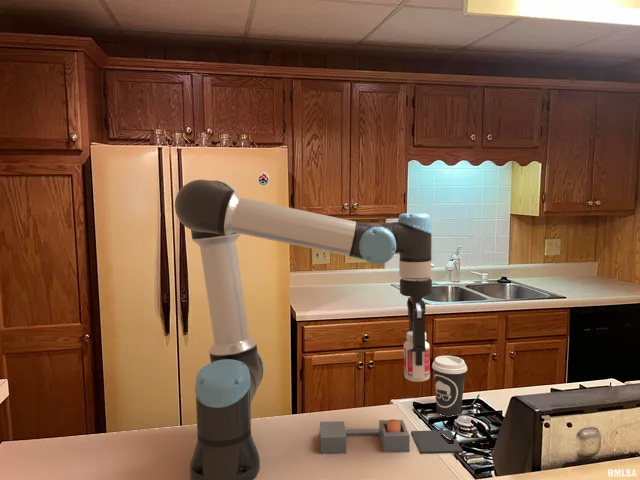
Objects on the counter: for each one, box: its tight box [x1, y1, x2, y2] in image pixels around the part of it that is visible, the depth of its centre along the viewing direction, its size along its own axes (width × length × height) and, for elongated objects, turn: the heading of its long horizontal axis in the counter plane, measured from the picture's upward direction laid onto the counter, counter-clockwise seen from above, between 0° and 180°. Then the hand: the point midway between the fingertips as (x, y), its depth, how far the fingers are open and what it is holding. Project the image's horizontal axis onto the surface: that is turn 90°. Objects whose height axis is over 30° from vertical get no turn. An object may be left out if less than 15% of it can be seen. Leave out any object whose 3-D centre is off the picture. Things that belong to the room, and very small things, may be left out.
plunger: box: [387, 418, 401, 432], centre depth 117 cm, size 3×3×5 cm
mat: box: [410, 429, 464, 455], centre depth 118 cm, size 10×10×1 cm
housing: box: [319, 419, 411, 455], centre depth 118 cm, size 21×10×4 cm, turn 92°
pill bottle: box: [403, 330, 431, 383], centre depth 116 cm, size 6×6×11 cm
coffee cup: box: [431, 355, 468, 416], centre depth 134 cm, size 10×10×15 cm
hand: (417, 372), depth 116 cm, fingers closed on pill bottle, 6 cm apart
